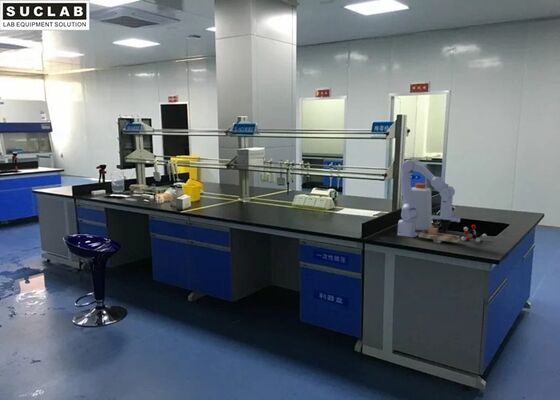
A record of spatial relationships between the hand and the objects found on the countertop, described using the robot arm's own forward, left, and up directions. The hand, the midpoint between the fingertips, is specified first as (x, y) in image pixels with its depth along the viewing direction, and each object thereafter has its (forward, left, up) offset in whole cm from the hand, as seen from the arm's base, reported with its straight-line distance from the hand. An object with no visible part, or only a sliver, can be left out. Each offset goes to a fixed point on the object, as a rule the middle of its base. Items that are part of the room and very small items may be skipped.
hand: (444, 233), depth 233 cm
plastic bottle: (-23, +25, -5) cm, 34 cm away
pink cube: (-6, 0, -2) cm, 6 cm away
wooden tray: (-3, 0, -5) cm, 6 cm away
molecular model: (+12, +12, -5) cm, 18 cm away
